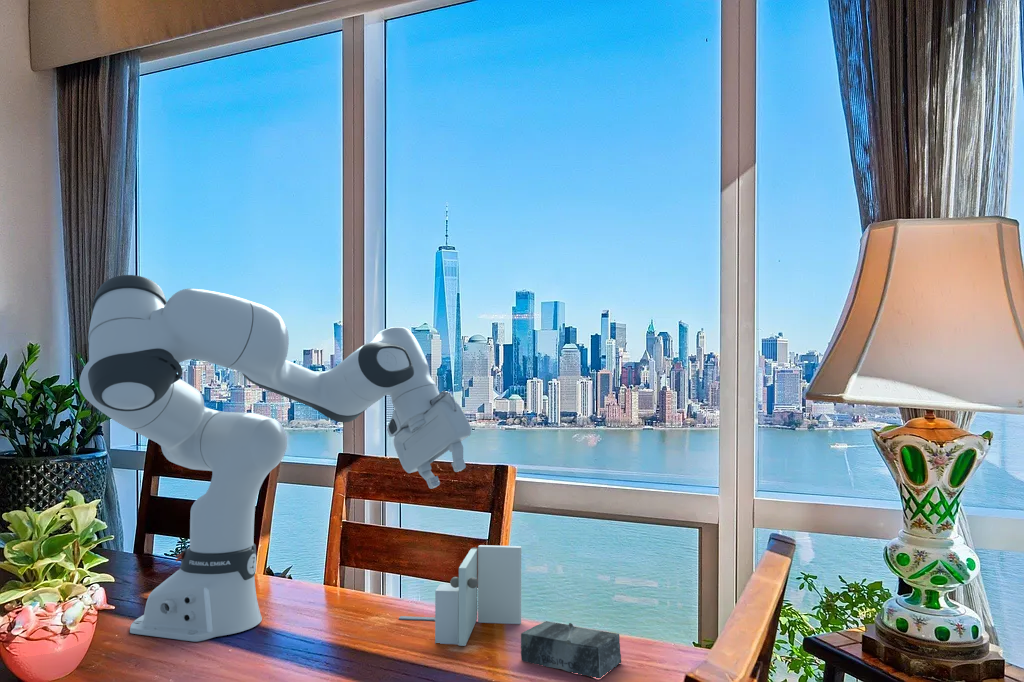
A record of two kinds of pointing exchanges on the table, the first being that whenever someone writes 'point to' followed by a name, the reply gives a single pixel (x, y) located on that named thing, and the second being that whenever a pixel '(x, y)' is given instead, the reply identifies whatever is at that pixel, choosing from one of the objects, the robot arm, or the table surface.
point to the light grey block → (446, 614)
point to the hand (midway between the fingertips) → (447, 478)
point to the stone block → (571, 648)
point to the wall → (496, 585)
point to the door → (467, 595)
